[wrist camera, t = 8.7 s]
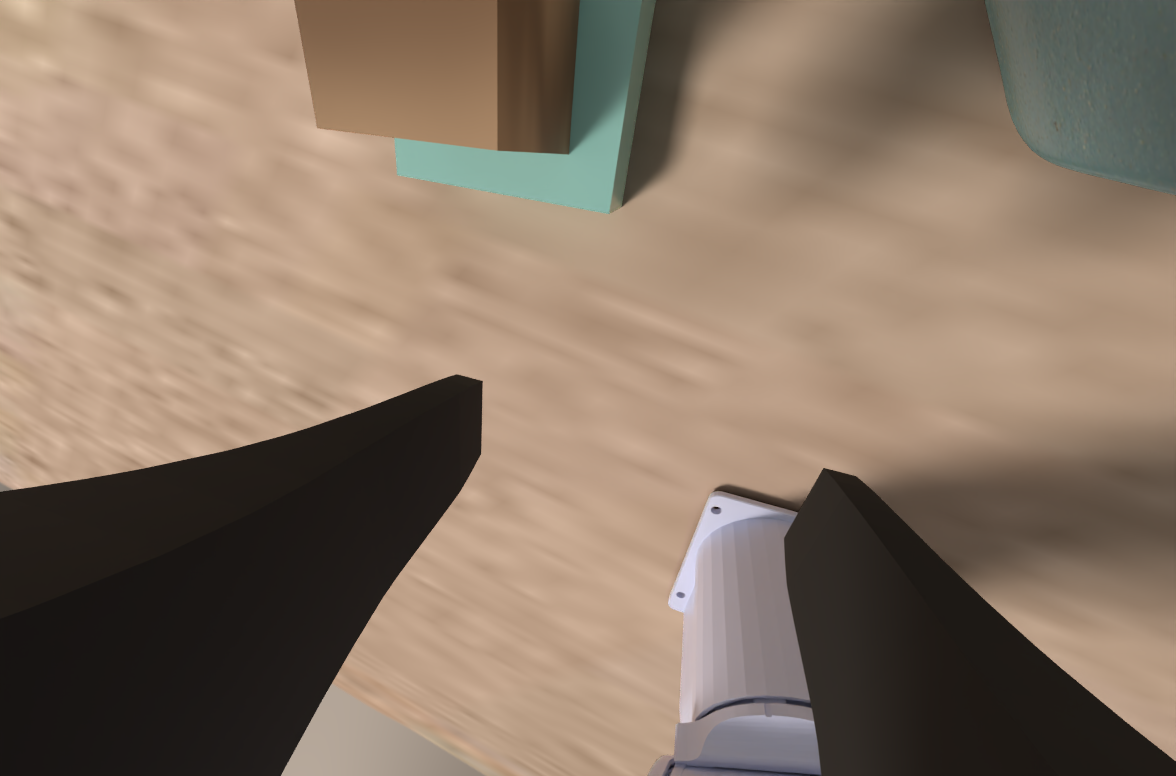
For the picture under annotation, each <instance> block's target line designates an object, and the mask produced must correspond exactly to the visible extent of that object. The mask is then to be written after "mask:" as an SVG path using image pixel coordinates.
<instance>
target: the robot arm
mask: <svg viewBox="0 0 1176 776" xmlns="http://www.w3.org/2000/svg"><path fill="white" fill-rule="evenodd" d="M482 383H483V381H480V380H476V379H473V378H469V377H465V376H461V375H454V376H450V377H447V378H444V379H441V380H438V381H436V382H433V383H430V384H428V385H425V386H422V387H420V388H417V389H415V390H412V391H410V392H407V393H404V394H402V395H399V396H397V397H394V398H391V399H389V400H386V401H384V402H381V403H378V404H376V405H373V406H371V407H368V408H365V409H362V410H360V411H357V412H354V413H351V414H348V415H345V416H342V417H339V418H336V419H333V420H330V421H328V422H325V423H322V424H319V425H316V426H313V427H310V428H307V429H304V430H300V431H297V432H294V433H291V434H287V435H284V436H280V437H277V438H273V439H270V440H266V441H262V442H258V443H255V444H251V445H247V446H243V447H240V448H236V449H232V450H228V451H224V452H219V453H214V454H210V455H205V456H200V457H196V458H191V459H187V460H182V461H177V462H173V463H168V464H163V465H159V466H154V467H149V468H145V469H139V470H134V471H129V472H123V473H117V474H112V475H106V476H100V477H94V478H89V479H83V480H76V481H70V482H63V483H57V484H51V485H44V486H38V487H31V488H24V489H17V490H10V491H3V492H0V776H281V774H282V772H283V770H284V768H285V766H286V765H287V763H288V761H289V759H290V758H291V756H292V754H293V752H294V750H295V748H296V747H297V745H298V743H299V741H300V739H301V737H302V736H303V734H304V732H305V730H306V728H307V727H308V725H309V723H310V721H311V719H312V717H313V716H314V714H315V712H316V710H317V708H318V707H319V704H320V703H321V701H322V699H323V697H324V696H325V694H326V692H327V691H328V689H329V687H330V685H331V684H332V682H333V680H334V679H335V677H336V675H337V673H338V672H339V670H340V668H341V666H342V665H343V663H344V661H345V660H346V658H347V656H348V654H349V653H350V651H351V649H352V647H353V646H354V644H355V642H356V641H357V639H358V638H359V636H360V634H361V633H362V631H363V629H364V628H365V626H366V624H367V623H368V621H369V619H370V618H371V616H372V614H373V613H374V611H375V610H376V608H377V606H378V605H379V603H380V601H381V600H382V598H383V596H384V595H385V594H386V592H387V591H388V589H389V588H390V586H391V585H392V583H393V582H394V580H395V579H396V578H397V576H398V575H399V573H400V572H401V571H402V569H403V568H404V567H405V565H406V564H407V563H408V561H409V560H410V559H411V557H412V556H413V555H414V553H415V552H416V551H417V549H418V548H419V547H420V545H421V544H422V543H423V541H424V540H425V539H426V537H427V536H428V534H429V533H430V532H431V530H432V529H433V528H434V526H435V525H436V524H437V522H438V521H439V520H440V518H441V517H442V516H443V514H444V513H445V512H446V510H447V509H448V507H449V506H450V505H451V503H452V502H453V501H454V499H455V498H456V496H457V495H458V494H459V492H460V491H461V489H462V487H463V486H464V484H465V482H466V480H467V479H468V477H469V475H470V473H471V472H472V470H473V468H474V466H475V464H476V462H477V460H478V458H479V457H480V455H481V434H482ZM712 507H719V509H714V508H712ZM668 605H669V606H670V607H671V608H672V609H674V610H677V611H680V612H683V613H684V624H683V644H682V665H681V686H680V723H677V724H676V731H675V749H674V755H663V756H661V757H660V758H658V759H657V760H656V761H655V763H654V764H653V766H652V767H651V769H650V771H649V773H648V776H1176V761H1174V760H1173V759H1172V758H1171V757H1169V756H1168V755H1167V754H1166V753H1164V752H1163V751H1162V750H1160V749H1159V748H1158V747H1157V746H1155V745H1154V744H1153V743H1152V742H1150V741H1149V740H1148V739H1147V738H1145V737H1144V736H1143V735H1142V734H1140V733H1139V732H1138V731H1136V730H1135V729H1134V728H1133V727H1131V726H1130V725H1129V724H1128V723H1126V722H1125V721H1124V720H1123V719H1122V718H1120V717H1119V716H1118V715H1117V714H1116V713H1114V712H1113V711H1112V710H1111V709H1110V708H1108V707H1107V706H1106V705H1105V704H1104V703H1102V702H1101V701H1100V700H1099V699H1097V698H1096V697H1095V696H1094V695H1093V694H1091V693H1090V692H1089V691H1088V690H1087V689H1085V688H1084V687H1083V686H1082V685H1081V684H1079V683H1078V682H1077V681H1076V680H1075V679H1073V678H1072V677H1071V676H1070V675H1069V674H1067V673H1066V672H1065V671H1064V670H1063V669H1061V668H1060V667H1059V666H1058V665H1057V664H1056V663H1054V662H1053V661H1052V660H1051V659H1050V658H1049V657H1047V656H1046V655H1045V654H1044V653H1043V652H1042V651H1041V650H1039V649H1038V648H1037V647H1036V646H1035V645H1034V644H1033V643H1031V642H1030V641H1029V640H1028V639H1027V638H1026V637H1025V636H1024V635H1023V634H1021V633H1020V632H1019V631H1018V630H1017V629H1016V628H1015V627H1014V626H1013V625H1012V624H1010V623H1009V622H1008V621H1007V620H1006V619H1005V618H1004V617H1003V616H1002V615H1001V614H999V613H998V612H997V611H996V610H995V609H994V608H993V607H992V606H991V605H990V604H988V603H987V602H986V601H985V600H984V599H983V598H982V597H981V596H980V595H979V594H978V593H977V592H976V591H975V590H974V589H972V588H971V587H970V586H969V585H968V584H967V583H966V582H965V581H964V580H963V579H962V578H961V577H960V576H959V575H958V574H957V573H956V572H955V571H954V570H953V569H952V568H951V567H950V566H948V565H947V564H946V563H945V562H944V561H943V560H942V559H941V558H940V557H939V556H938V555H937V554H936V553H935V552H934V551H933V550H932V549H931V548H930V547H929V546H928V545H927V544H926V543H925V542H924V541H923V540H922V539H921V538H920V537H919V536H918V535H917V534H916V533H915V532H914V531H913V530H912V529H911V528H910V527H909V526H908V525H907V524H906V523H905V522H904V521H903V520H902V519H901V518H900V517H899V516H898V515H897V514H896V513H895V512H894V511H893V510H892V509H891V508H890V507H889V506H888V505H887V504H886V503H885V502H884V501H883V500H882V499H881V498H880V497H879V496H878V495H876V494H875V493H874V492H873V491H872V490H871V489H870V488H869V487H868V486H867V485H866V484H865V483H863V482H862V481H861V480H860V479H859V478H857V477H856V476H853V475H849V474H845V473H841V472H837V471H833V470H829V469H825V468H823V470H822V472H821V473H820V475H819V477H818V479H817V481H816V482H815V484H814V486H813V488H812V489H811V491H810V493H809V495H808V496H807V498H806V500H805V502H804V503H803V505H802V507H801V509H800V510H799V512H794V511H791V510H787V509H784V508H780V507H776V506H773V505H769V504H765V503H762V502H758V501H755V500H751V499H747V498H744V497H740V496H737V495H733V494H729V493H726V492H722V491H715V492H713V493H711V494H710V495H709V497H708V500H707V502H706V505H705V508H704V510H703V513H702V515H701V518H700V520H699V523H698V525H697V528H696V530H695V533H694V535H693V538H692V540H691V543H690V545H689V548H688V550H687V553H686V555H685V558H684V560H683V563H682V565H681V568H680V570H679V573H678V576H677V578H676V581H675V583H674V586H673V588H672V591H671V593H670V596H669V600H668Z"/></svg>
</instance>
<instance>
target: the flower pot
mask: <svg viewBox="0 0 1176 776" xmlns="http://www.w3.org/2000/svg"><path fill="white" fill-rule="evenodd" d="M985 5H986V9H987V14H988V18H989V22H990V27H991V31H992V35H993V40H994V44H995V49H996V53H997V57H998V62H999V66H1000V71H1001V75H1002V80H1003V86H1004V91H1005V96H1006V101H1007V104H1008V108H1009V111H1010V115H1011V117H1012V120H1013V123H1014V125H1015V127H1016V129H1017V131H1018V133H1019V134H1020V136H1021V137H1022V139H1023V140H1024V142H1025V143H1026V144H1027V145H1028V147H1029V148H1030V149H1031V150H1032V151H1034V152H1035V153H1036V154H1037V155H1039V156H1040V157H1042V158H1043V159H1045V160H1047V161H1049V162H1051V163H1053V164H1056V165H1058V166H1060V167H1064V168H1067V169H1071V170H1074V171H1078V172H1081V173H1085V174H1089V175H1093V176H1097V177H1101V178H1105V179H1110V180H1114V181H1118V182H1122V183H1126V184H1130V185H1134V186H1138V187H1143V188H1147V189H1151V190H1155V191H1160V192H1164V193H1168V194H1173V195H1176V0H985Z"/></svg>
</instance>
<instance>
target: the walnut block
mask: <svg viewBox="0 0 1176 776" xmlns="http://www.w3.org/2000/svg"><path fill="white" fill-rule="evenodd" d="M294 1H295V7H296V12H297V18H298V23H299V29H300V34H301V40H302V46H303V51H304V57H305V62H306V68H307V73H308V79H309V85H310V90H311V96H312V101H313V107H314V112H315V118H316V123H317V128H320V129H328V130H336V131H344V132H352V133H360V134H368V135H376V136H384V137H392V138H400V139H408V140H416V141H424V142H432V143H440V144H448V145H456V146H464V147H472V148H480V149H488V150H496V151H512V152H530V153H549V154H567V155H569V146H570V132H571V118H572V104H573V90H574V76H575V62H576V48H577V34H578V20H579V6H580V0H294Z"/></svg>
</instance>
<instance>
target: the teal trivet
mask: <svg viewBox="0 0 1176 776" xmlns="http://www.w3.org/2000/svg"><path fill="white" fill-rule="evenodd" d="M655 3H656V0H580V6H579V20H578V34H577V48H576V62H575V76H574V90H573V104H572V118H571V132H570V146H569V155H567V154H549V153H530V152H512V151H496V150H488V149H480V148H472V147H464V146H456V145H448V144H440V143H432V142H424V141H416V140H408V139H400V138H394V139H395V152H396V165H397V175H399V176H405V177H410V178H416V179H421V180H427V181H432V182H438V183H443V184H448V185H454V186H459V187H465V188H470V189H476V190H481V191H487V192H492V193H498V194H503V195H509V196H514V197H519V198H525V199H530V200H536V201H541V202H547V203H552V204H558V205H563V206H569V207H574V208H580V209H585V210H590V211H596V212H601V213H607V214H610V213H612V212H614V211H615V210H617V209H619V208H621V207H622V202H623V196H624V190H625V184H626V178H627V172H628V166H629V160H630V154H631V148H632V142H633V136H634V130H635V123H636V117H637V111H638V105H639V99H640V93H641V87H642V81H643V75H644V69H645V63H646V57H647V51H648V45H649V39H650V33H651V27H652V21H653V15H654V9H655Z"/></svg>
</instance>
